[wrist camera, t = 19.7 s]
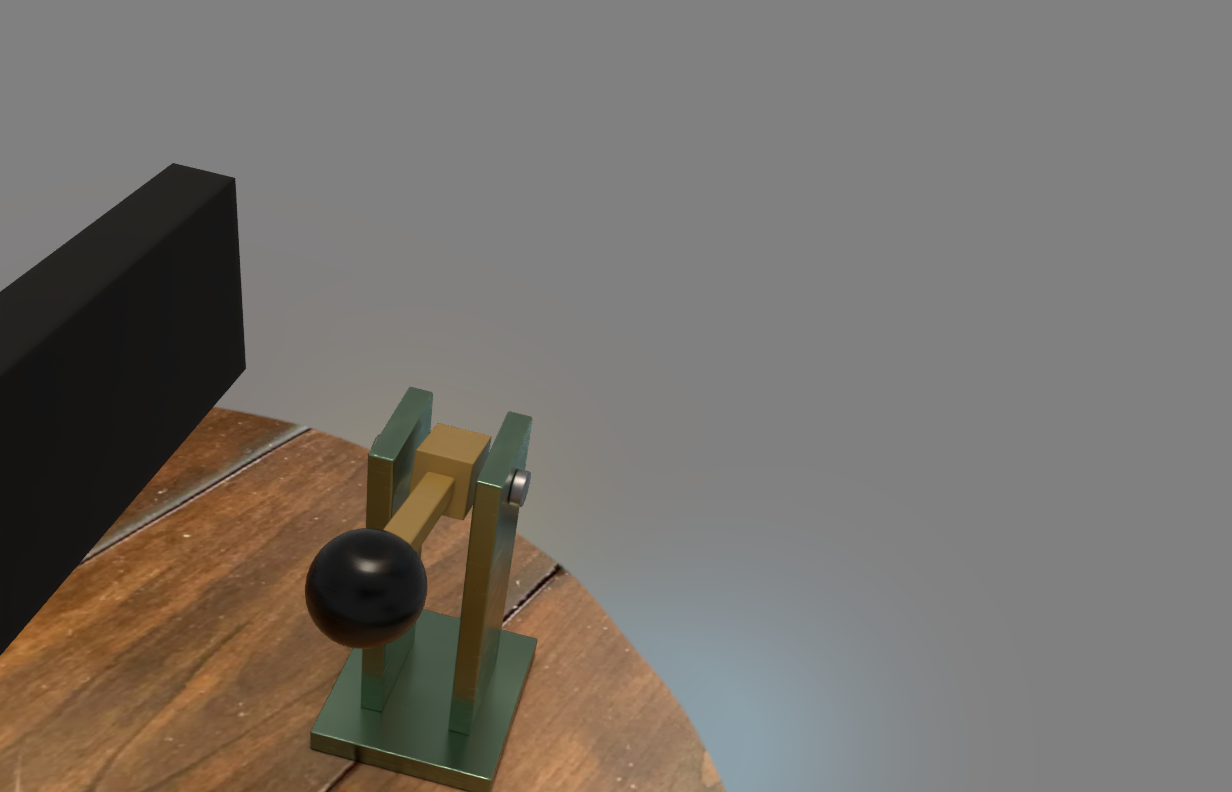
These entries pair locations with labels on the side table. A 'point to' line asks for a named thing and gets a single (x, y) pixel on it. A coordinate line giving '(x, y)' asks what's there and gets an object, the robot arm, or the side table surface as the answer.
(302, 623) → the side table surface
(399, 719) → the switch bracket
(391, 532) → the switch lever
